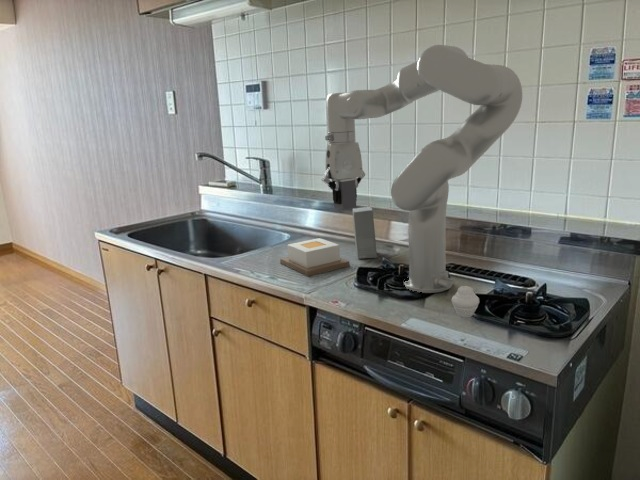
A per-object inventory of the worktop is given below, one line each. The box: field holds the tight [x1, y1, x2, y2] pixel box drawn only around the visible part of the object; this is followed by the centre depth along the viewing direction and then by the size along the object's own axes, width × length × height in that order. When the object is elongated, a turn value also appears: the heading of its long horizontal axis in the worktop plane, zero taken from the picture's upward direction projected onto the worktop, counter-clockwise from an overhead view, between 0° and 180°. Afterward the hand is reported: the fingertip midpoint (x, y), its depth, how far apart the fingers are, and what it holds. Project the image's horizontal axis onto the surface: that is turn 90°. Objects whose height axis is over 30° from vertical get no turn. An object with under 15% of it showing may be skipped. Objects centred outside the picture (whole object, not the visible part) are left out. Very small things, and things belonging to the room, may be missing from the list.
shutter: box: [302, 242, 324, 248], centre depth 161 cm, size 6×6×1 cm
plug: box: [333, 178, 357, 210], centre depth 147 cm, size 5×5×9 cm
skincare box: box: [352, 206, 378, 260], centre depth 166 cm, size 8×7×16 cm
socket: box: [279, 237, 351, 277], centre depth 161 cm, size 18×15×6 cm
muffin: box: [451, 285, 480, 318], centre depth 116 cm, size 6×6×7 cm
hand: (345, 201), depth 147 cm, fingers closed on plug, 4 cm apart
